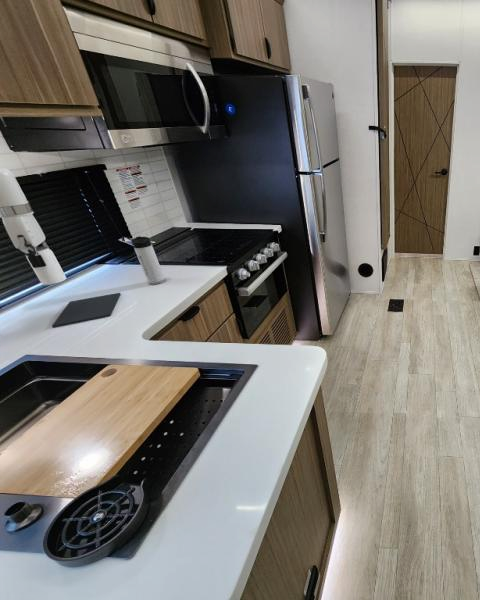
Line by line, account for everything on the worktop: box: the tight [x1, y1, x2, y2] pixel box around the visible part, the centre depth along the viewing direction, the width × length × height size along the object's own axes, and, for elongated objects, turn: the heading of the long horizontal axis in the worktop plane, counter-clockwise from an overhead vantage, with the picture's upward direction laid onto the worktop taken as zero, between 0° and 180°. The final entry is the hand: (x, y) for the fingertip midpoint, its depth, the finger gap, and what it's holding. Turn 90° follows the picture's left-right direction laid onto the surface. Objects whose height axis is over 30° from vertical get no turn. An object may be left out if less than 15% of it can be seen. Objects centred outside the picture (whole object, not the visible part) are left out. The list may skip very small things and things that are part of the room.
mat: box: [51, 292, 122, 329], centre depth 124 cm, size 16×20×1 cm
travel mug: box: [130, 235, 166, 286], centre depth 141 cm, size 6×7×20 cm
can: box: [25, 246, 67, 286], centre depth 113 cm, size 6×6×12 cm
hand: (44, 262), depth 112 cm, fingers closed on can, 6 cm apart
